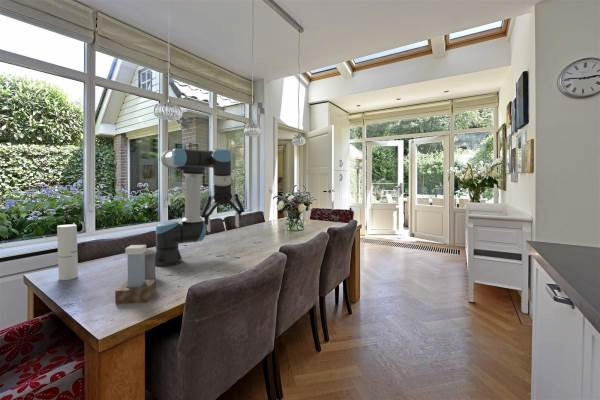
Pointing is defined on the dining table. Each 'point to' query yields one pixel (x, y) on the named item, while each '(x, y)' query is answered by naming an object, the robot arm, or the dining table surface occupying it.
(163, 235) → the robot arm
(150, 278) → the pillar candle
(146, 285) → the socket block
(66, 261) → the cylindrical container
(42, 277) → the dining table surface
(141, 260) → the plug
